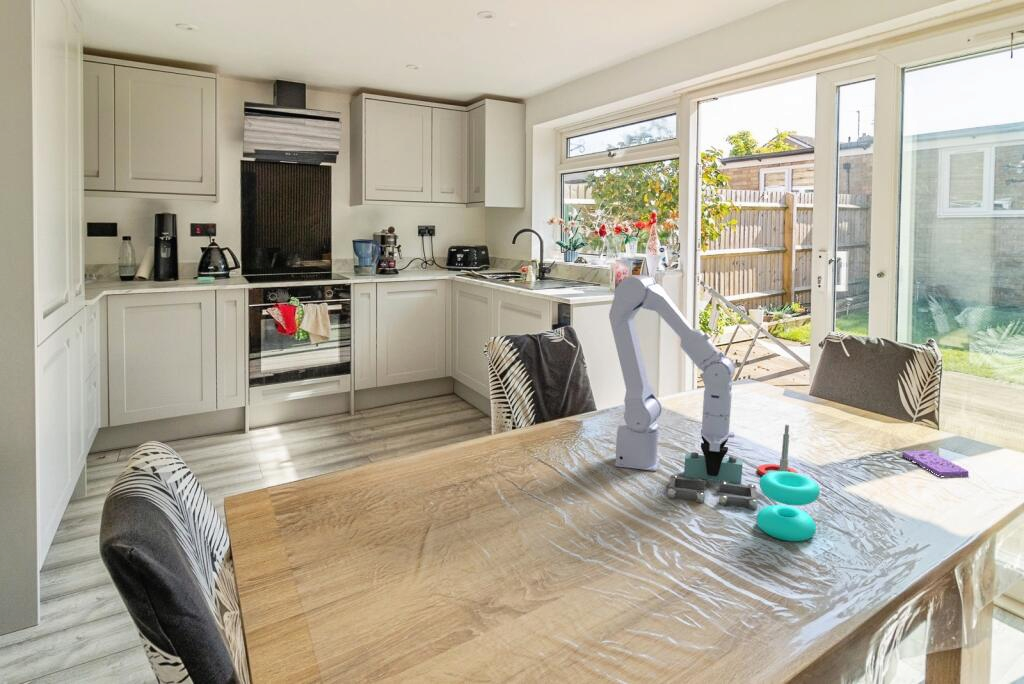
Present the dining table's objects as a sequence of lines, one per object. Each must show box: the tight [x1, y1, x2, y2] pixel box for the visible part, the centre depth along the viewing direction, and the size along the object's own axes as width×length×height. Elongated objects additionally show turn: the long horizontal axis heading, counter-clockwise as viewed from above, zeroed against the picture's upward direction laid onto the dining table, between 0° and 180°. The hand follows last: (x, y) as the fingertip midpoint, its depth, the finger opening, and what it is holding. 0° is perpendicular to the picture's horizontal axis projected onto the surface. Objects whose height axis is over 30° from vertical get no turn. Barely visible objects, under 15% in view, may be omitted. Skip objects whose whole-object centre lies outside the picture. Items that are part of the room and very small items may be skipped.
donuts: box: [756, 470, 820, 542], centre depth 112 cm, size 10×10×10 cm
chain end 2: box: [718, 481, 759, 511], centre depth 126 cm, size 7×9×2 cm
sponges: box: [901, 449, 969, 477], centre depth 143 cm, size 7×13×2 cm, turn 3°
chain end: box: [667, 474, 706, 504], centre depth 129 cm, size 7×9×2 cm
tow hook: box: [757, 424, 799, 477], centre depth 137 cm, size 8×13×9 cm
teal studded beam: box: [683, 451, 743, 484], centre depth 136 cm, size 12×3×5 cm, turn 72°
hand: (712, 471), depth 137 cm, fingers open, 4 cm apart
